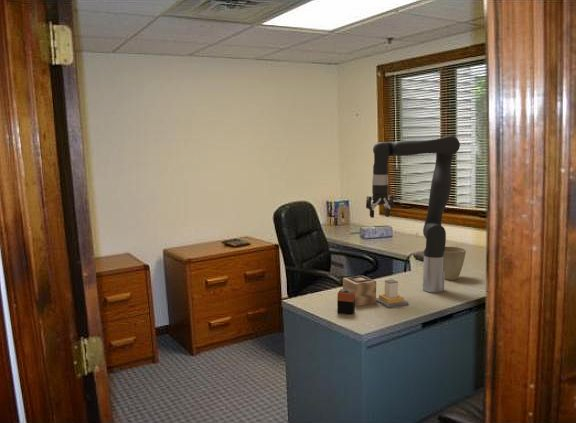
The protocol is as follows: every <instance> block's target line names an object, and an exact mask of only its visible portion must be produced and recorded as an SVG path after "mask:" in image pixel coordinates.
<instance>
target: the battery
mask: <svg viewBox="0 0 576 423" xmlns="http://www.w3.org/2000/svg"><path fill="white" fill-rule="evenodd" d="M336 298H337V300H336V301H337V305H336V306H337V310H336V312H337V314H341V315H350V316H351V315H354V313H355V310H356V306H355V292H354V291H352V290H349V291H345V289H343V288H340V290H338V291H337V296H336Z"/></svg>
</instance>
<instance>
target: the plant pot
mask: <svg viewBox="0 0 576 423" xmlns="http://www.w3.org/2000/svg"><path fill="white" fill-rule="evenodd" d="M466 252H467V249H466V248H464V247H458V246H445V251H444V256H443V271H444V272H445V279H444V280H448V281H455V280H458V279H459V277H460V275H461V271H462V269H463V265H464V264H465V263H464V262H465V258H466Z"/></svg>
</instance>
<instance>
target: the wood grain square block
mask: <svg viewBox="0 0 576 423" xmlns="http://www.w3.org/2000/svg"><path fill="white" fill-rule="evenodd" d="M342 289H345V291H349V290H352V291H354V292H355V307H357V306H362V305H363V306H364V305H369V304H370V305H371V304H375V303H377V302H376V298H377V280H374V279H372V278H371V277H369V276H368V277H367V276H365V275H357V276H355V275H354V276H348V277H342Z"/></svg>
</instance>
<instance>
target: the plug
mask: <svg viewBox="0 0 576 423" xmlns="http://www.w3.org/2000/svg"><path fill="white" fill-rule="evenodd" d="M398 288H399V281H397V280H395V279H392V278H391V279H385V280H384V292H383V294H384V296H385V297H387V298H389V299H391V298H398V295H399V294H398V293H399V292H398V291H399V289H398Z"/></svg>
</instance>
